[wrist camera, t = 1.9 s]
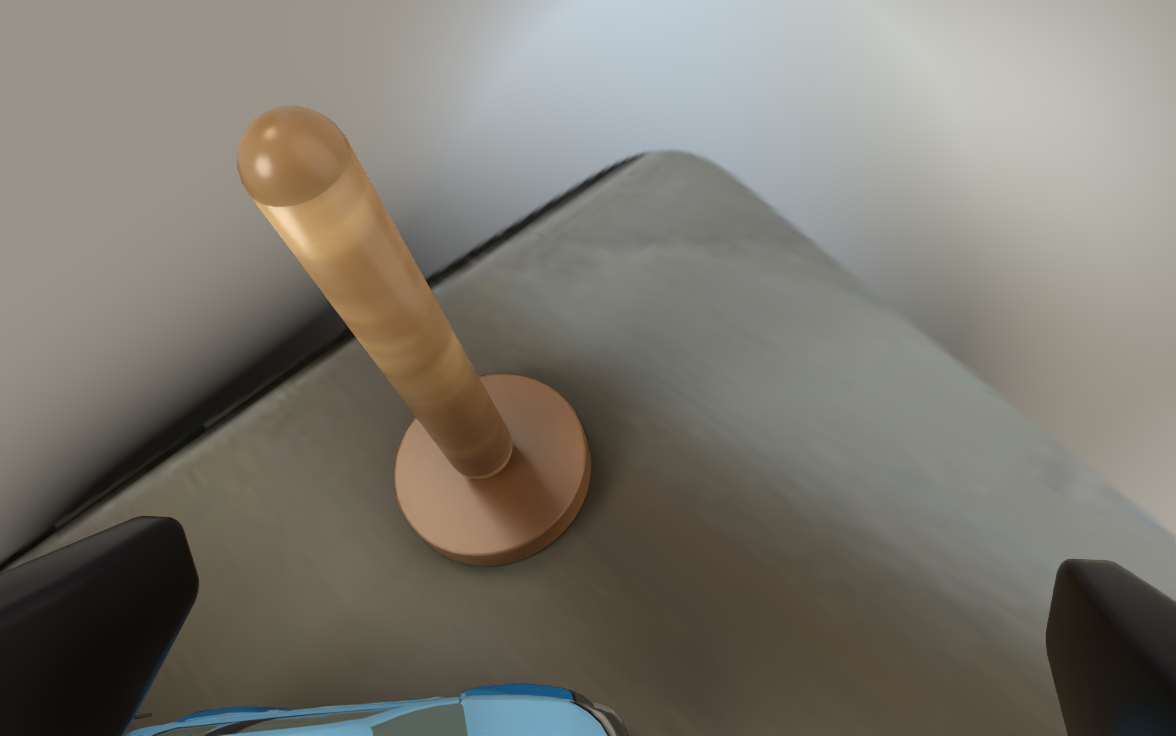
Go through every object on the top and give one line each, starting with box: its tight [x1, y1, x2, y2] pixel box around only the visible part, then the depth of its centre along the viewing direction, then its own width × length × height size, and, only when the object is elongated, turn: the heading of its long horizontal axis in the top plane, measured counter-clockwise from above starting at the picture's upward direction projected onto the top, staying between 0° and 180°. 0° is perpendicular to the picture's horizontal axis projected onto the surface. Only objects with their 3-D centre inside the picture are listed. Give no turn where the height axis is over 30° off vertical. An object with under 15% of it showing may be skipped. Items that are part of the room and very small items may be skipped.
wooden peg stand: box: [237, 106, 591, 566], centre depth 19 cm, size 6×6×14 cm
